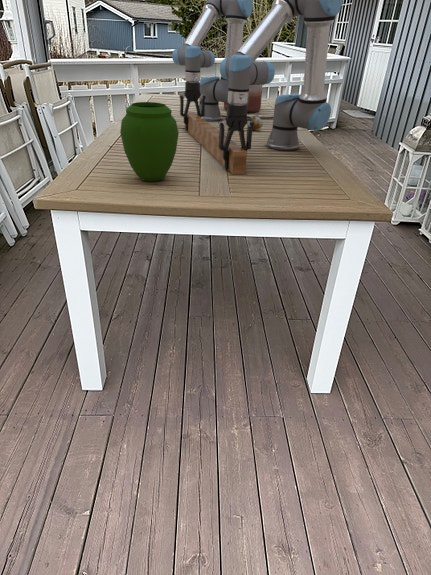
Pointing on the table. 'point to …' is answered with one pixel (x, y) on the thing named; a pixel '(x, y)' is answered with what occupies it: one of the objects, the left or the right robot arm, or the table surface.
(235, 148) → the beam
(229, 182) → the table surface
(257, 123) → the seashell
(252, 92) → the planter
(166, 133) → the vase
